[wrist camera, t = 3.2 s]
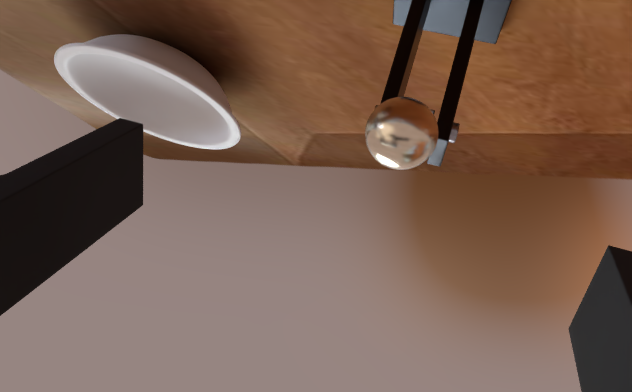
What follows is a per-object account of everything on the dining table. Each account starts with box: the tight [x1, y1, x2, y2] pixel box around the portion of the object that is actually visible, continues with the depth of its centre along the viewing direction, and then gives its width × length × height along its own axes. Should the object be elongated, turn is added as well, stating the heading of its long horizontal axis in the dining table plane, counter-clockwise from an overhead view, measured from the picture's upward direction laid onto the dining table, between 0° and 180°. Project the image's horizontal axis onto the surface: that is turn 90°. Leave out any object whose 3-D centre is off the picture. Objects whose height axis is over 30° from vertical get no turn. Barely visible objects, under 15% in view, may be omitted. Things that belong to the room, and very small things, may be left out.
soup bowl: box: [54, 34, 241, 149], centre depth 70 cm, size 24×24×7 cm
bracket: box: [375, 0, 511, 166], centre depth 40 cm, size 11×9×15 cm
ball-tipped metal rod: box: [365, 97, 438, 170], centre depth 33 cm, size 15×4×4 cm, turn 6°
